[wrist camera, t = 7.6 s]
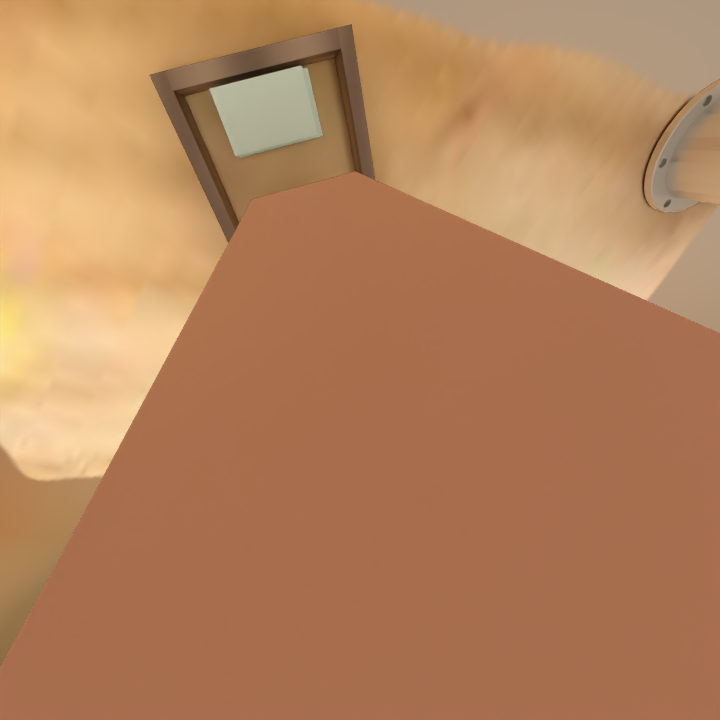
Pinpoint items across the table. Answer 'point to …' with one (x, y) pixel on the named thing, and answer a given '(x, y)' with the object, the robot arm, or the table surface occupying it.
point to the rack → (255, 64)
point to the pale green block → (268, 111)
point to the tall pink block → (397, 492)
